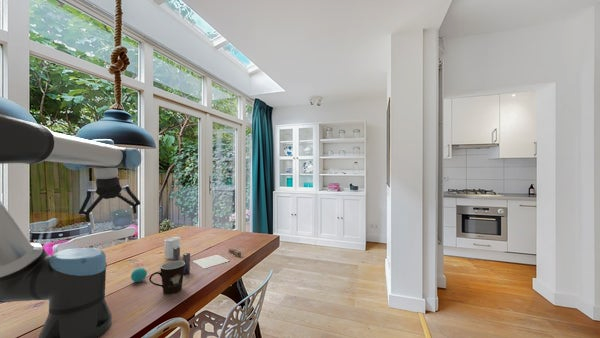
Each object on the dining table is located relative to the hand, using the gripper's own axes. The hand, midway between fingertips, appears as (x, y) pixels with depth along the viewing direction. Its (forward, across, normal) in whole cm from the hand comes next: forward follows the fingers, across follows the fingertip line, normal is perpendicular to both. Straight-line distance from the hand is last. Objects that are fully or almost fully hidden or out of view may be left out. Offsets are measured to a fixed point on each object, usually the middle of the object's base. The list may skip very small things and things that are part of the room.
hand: (114, 224), depth 100 cm
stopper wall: (+30, -51, +6) cm, 60 cm away
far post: (+27, -22, +4) cm, 35 cm away
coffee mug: (+21, -15, +29) cm, 39 cm away
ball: (+20, -6, +12) cm, 25 cm away
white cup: (+30, -22, -12) cm, 39 cm away
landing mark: (+28, -37, +8) cm, 47 cm away
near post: (+24, -24, +16) cm, 38 cm away
